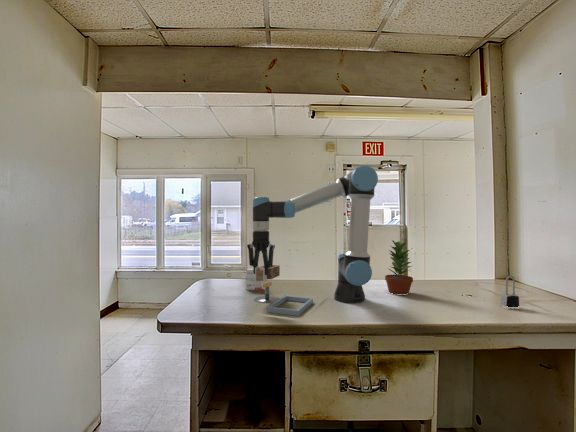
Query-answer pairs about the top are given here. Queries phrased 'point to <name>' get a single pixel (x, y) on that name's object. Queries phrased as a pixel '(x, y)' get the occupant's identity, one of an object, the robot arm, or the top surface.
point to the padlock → (510, 296)
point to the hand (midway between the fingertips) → (260, 281)
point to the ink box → (252, 281)
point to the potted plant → (399, 271)
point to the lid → (266, 295)
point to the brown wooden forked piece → (273, 273)
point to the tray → (275, 309)
